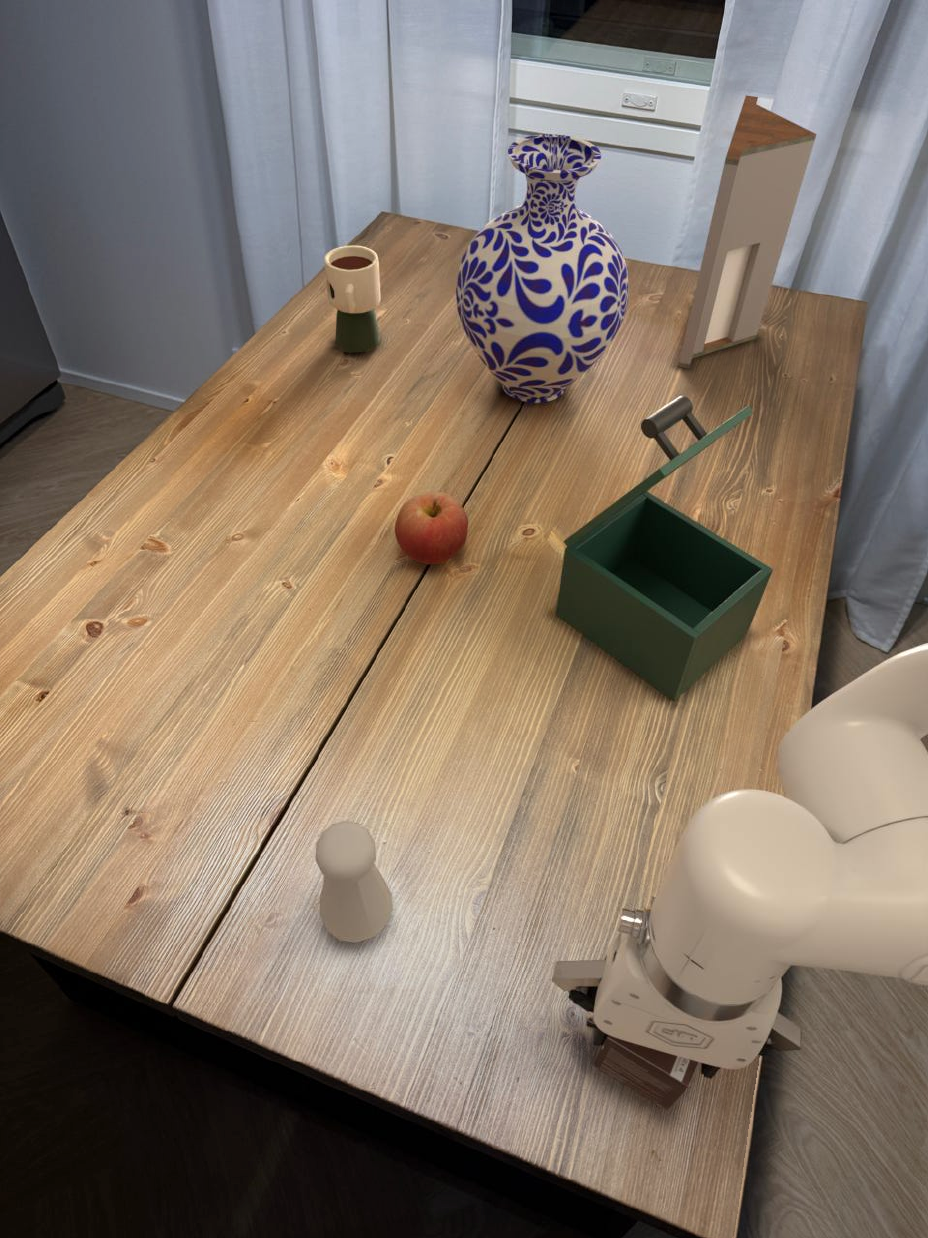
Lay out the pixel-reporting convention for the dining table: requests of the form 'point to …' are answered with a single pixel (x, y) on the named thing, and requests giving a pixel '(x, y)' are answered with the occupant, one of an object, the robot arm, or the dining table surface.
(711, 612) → the chest
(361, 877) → the salt shaker
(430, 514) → the apple
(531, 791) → the dining table surface
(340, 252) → the character mug
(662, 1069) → the box
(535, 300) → the vase
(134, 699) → the dining table surface
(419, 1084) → the dining table surface
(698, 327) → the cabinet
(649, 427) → the lid
